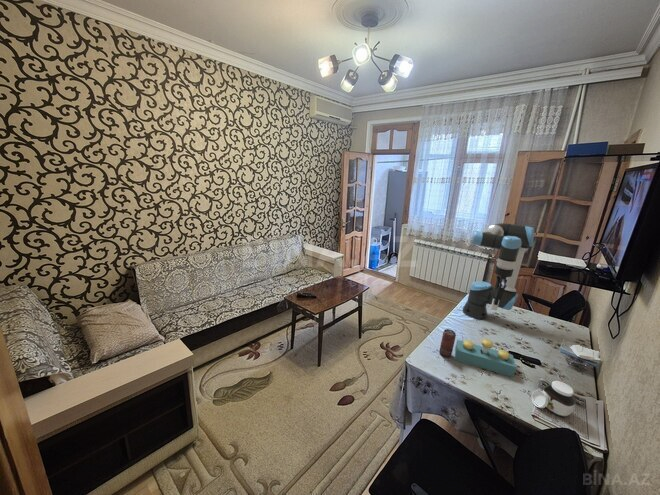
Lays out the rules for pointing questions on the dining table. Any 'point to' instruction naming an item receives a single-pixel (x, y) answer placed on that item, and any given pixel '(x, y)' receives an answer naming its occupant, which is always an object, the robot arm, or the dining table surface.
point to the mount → (485, 359)
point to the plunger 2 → (503, 355)
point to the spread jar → (555, 398)
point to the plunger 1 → (468, 345)
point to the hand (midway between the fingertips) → (493, 309)
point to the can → (447, 343)
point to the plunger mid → (486, 346)
